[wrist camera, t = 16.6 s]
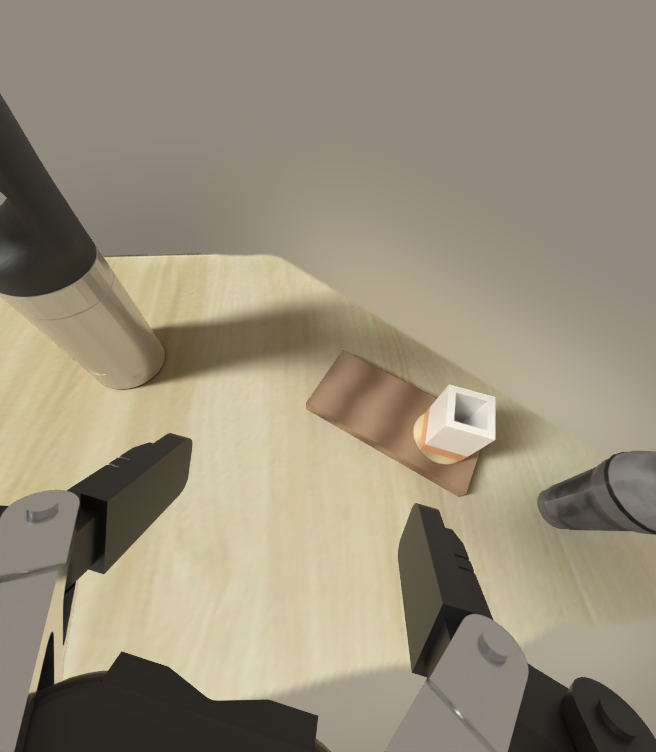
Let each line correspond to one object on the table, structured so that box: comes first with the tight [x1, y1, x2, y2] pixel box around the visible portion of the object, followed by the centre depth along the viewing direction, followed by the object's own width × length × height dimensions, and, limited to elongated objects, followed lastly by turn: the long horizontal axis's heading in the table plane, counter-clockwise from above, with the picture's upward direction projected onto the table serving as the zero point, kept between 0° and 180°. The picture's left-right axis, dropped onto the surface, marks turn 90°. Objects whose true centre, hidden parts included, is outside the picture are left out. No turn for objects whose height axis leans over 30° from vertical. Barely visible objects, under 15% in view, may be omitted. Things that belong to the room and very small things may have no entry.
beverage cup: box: [538, 451, 656, 535], centre depth 29 cm, size 7×7×20 cm
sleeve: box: [420, 384, 495, 461], centre depth 36 cm, size 5×5×8 cm
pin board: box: [306, 350, 481, 497], centre depth 39 cm, size 22×10×7 cm, turn 60°
